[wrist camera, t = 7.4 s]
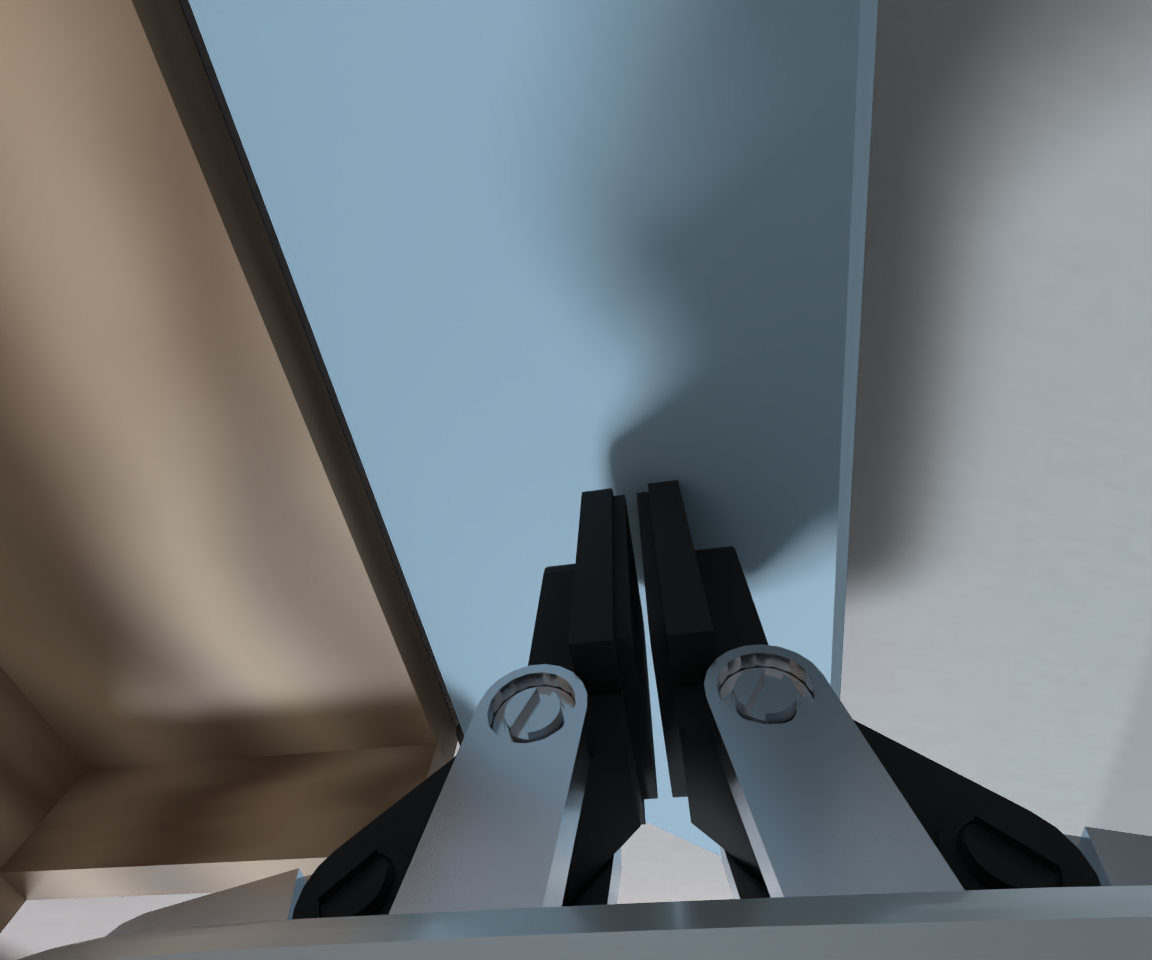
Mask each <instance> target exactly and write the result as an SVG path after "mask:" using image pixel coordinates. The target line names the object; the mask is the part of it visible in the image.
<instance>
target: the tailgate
mask: <svg viewBox="0 0 1152 960" xmlns="http://www.w3.org/2000/svg"><path fill="white" fill-rule="evenodd" d="M188 1H189V3H190V6H191V9H192V11H193V14H194V17H195V19H196V22H197V25H198V27H199V30H200V33H201V35H202V38H203V41H204V43H205V46H206V49H207V51H208V54H209V57H210V59H211V62H212V65H213V67H214V70H215V73H216V75H217V78H218V81H219V83H220V86H221V89H222V91H223V94H224V97H225V99H226V102H227V105H228V107H229V110H230V113H231V115H232V118H233V121H234V123H235V126H236V129H237V131H238V134H239V137H240V139H241V142H242V145H243V147H244V150H245V153H246V155H247V158H248V161H249V163H250V166H251V169H252V171H253V174H254V177H255V179H256V182H257V185H258V187H259V190H260V193H261V195H262V198H263V201H264V203H265V206H266V209H267V211H268V214H269V217H270V219H271V222H272V225H273V227H274V230H275V233H276V235H277V238H278V241H279V243H280V246H281V249H282V251H283V254H284V257H285V259H286V262H287V265H288V267H289V270H290V273H291V275H292V278H293V281H294V283H295V286H296V289H297V291H298V294H299V297H300V299H301V302H302V305H303V307H304V310H305V313H306V315H307V318H308V321H309V323H310V326H311V329H312V331H313V334H314V337H315V339H316V342H317V345H318V347H319V350H320V353H321V355H322V358H323V361H324V363H325V366H326V369H327V371H328V374H329V376H330V379H331V382H332V384H333V387H334V390H335V392H336V395H337V398H338V400H339V403H340V406H341V408H342V411H343V414H344V416H345V419H346V422H347V424H348V427H349V430H350V432H351V435H352V438H353V440H354V443H355V446H356V448H357V451H358V454H359V456H360V459H361V462H362V464H363V467H364V470H365V472H366V475H367V478H368V480H369V483H370V486H371V488H372V491H373V494H374V496H375V499H376V502H377V504H378V507H379V510H380V512H381V515H382V518H383V520H384V523H385V526H386V528H387V531H388V534H389V536H390V539H391V542H392V544H393V547H394V550H395V552H396V555H397V558H398V560H399V563H400V566H401V568H402V571H403V574H404V576H405V579H406V582H407V584H408V587H409V590H410V592H411V595H412V598H413V600H414V603H415V606H416V608H417V611H418V614H419V616H420V619H421V622H422V624H423V627H424V630H425V632H426V635H427V638H428V640H429V643H430V646H431V648H432V651H433V654H434V656H435V659H436V662H437V664H438V667H439V670H440V672H441V675H442V678H443V680H444V683H445V686H446V688H447V691H448V694H449V696H450V699H451V702H452V704H453V707H454V710H455V712H456V715H457V718H458V720H459V723H460V726H461V728H462V731H463V734H464V736H465V734H466V732H467V729H468V727H469V725H470V722H471V720H472V718H473V715H474V713H475V711H476V708H477V706H478V704H479V702H480V700H481V699H482V697H483V696H484V694H485V692H486V691H487V690H488V689H489V688H490V687H491V686H492V685H493V684H494V683H495V682H496V681H497V680H498V679H500V678H502V677H503V676H505V675H507V674H508V673H510V672H512V671H514V670H517V669H520V668H523V667H526V666H528V662H529V656H530V650H531V644H532V638H533V632H534V627H535V621H536V615H537V609H538V603H539V597H540V591H541V585H542V579H543V573H544V570H545V568H546V567H549V566H558V565H567V564H575V563H576V552H577V541H578V529H579V518H580V507H581V496H582V492H585V491H593V490H601V489H609V488H612V490H613V494H614V496H617V495H625V498H626V504H627V511H628V518H629V525H630V531H631V538H632V545H633V552H634V559H635V565H636V572H637V579H638V586H639V593H640V599H641V606H642V613H643V621H644V630H645V641H646V654H647V666H648V678H649V691H650V703H651V716H652V728H653V741H654V753H655V766H656V778H657V791H658V799H644V804H645V821H646V822H648V823H650V824H652V825H654V826H656V827H659V828H661V829H663V830H665V831H667V832H670V833H672V834H674V835H676V836H678V837H680V838H683V839H685V840H687V841H689V842H691V843H693V844H696V845H698V846H700V847H702V848H704V849H706V850H709V851H711V852H713V853H715V854H717V855H719V856H721V851H720V845H718V844H717V843H716V842H715V841H713V840H712V839H711V838H709V837H708V836H707V835H706V834H704V833H703V832H702V831H701V830H699V829H698V828H697V827H696V826H694V825H693V824H692V823H691V818H690V811H689V803H688V797H674V798H673V797H672V790H671V783H670V776H669V770H668V763H667V756H666V749H665V742H664V735H663V728H662V721H661V714H660V707H659V700H658V693H657V686H656V679H655V672H654V665H653V658H652V651H651V643H650V635H649V626H648V615H647V604H646V593H645V582H644V571H643V560H642V549H641V538H640V526H639V515H638V504H637V493H641V492H649V491H648V484H649V483H657V482H665V481H673V480H678V482H679V486H680V491H681V495H682V499H683V503H684V508H685V512H686V516H687V520H688V525H689V529H690V533H691V537H692V542H693V546H694V550H702V549H711V548H720V547H729V546H733V547H734V548H735V550H736V553H737V556H738V558H739V561H740V564H741V567H742V570H743V573H744V576H745V578H746V581H747V584H748V587H749V590H750V593H751V596H752V599H753V601H754V604H755V607H756V610H757V613H758V616H759V619H760V621H761V624H762V627H763V630H764V633H765V636H766V639H767V642H768V644H769V645H770V646H778V647H782V648H785V649H788V650H791V651H793V652H796V653H798V654H800V655H801V656H803V657H805V658H806V659H808V660H809V661H811V662H812V663H813V664H814V665H815V666H816V667H817V668H818V669H819V670H820V672H821V673H822V674H823V675H824V677H825V678H826V680H827V681H828V683H829V684H830V686H831V687H832V689H833V690H834V692H835V693H836V695H837V696H838V698H839V699H840V691H841V672H842V654H843V636H844V618H845V599H846V581H847V563H848V544H849V526H850V508H851V490H852V471H853V453H854V435H855V417H856V398H857V380H858V362H859V343H860V325H861V307H862V289H863V270H864V252H865V234H866V215H867V197H868V179H869V161H870V142H871V124H872V106H873V87H874V69H875V51H876V33H877V14H878V0H188Z"/></svg>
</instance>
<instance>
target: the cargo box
mask: <svg viewBox="0 0 1152 960" xmlns="http://www.w3.org/2000/svg"><path fill="white" fill-rule="evenodd" d="M463 739H464V734H463V731H462V728H461V726H460V723H459V724H458V726H457V729H456V727H455V724H454V721H453V719H452V716H451V714H450V711H449V708H448V706H447V703H446V700H445V698H444V695H443V693H442V690H441V687H440V685H439V682H438V679H437V677H436V674H435V672H434V669H433V666H432V664H431V661H430V658H429V656H428V653H427V651H426V648H425V645H424V643H423V640H422V637H421V635H420V632H419V630H418V627H417V624H416V622H415V619H414V617H413V614H412V611H411V609H410V606H409V603H408V601H407V598H406V596H405V593H404V590H403V588H402V585H401V582H400V580H399V577H398V575H397V572H396V569H395V567H394V564H393V561H392V559H391V556H390V554H389V551H388V548H387V546H386V543H385V540H384V538H383V535H382V533H381V530H380V527H379V525H378V522H377V519H376V517H375V514H374V512H373V509H372V506H371V504H370V501H369V498H368V496H367V493H366V491H365V488H364V485H363V483H362V480H361V477H360V475H359V472H358V470H357V467H356V464H355V462H354V459H353V457H352V454H351V451H350V449H349V446H348V443H347V441H346V438H345V436H344V433H343V430H342V428H341V425H340V422H339V420H338V417H337V415H336V412H335V409H334V407H333V404H332V401H331V399H330V396H329V394H328V391H327V388H326V386H325V383H324V380H323V378H322V375H321V373H320V370H319V367H318V365H317V362H316V359H315V357H314V354H313V352H312V349H311V346H310V344H309V341H308V338H307V336H306V333H305V331H304V328H303V325H302V323H301V320H300V318H299V315H298V312H297V310H296V307H295V304H294V302H293V299H292V297H291V294H290V291H289V289H288V286H287V283H286V281H285V278H284V276H283V273H282V270H281V268H280V265H279V262H278V260H277V257H276V255H275V252H274V249H273V247H272V244H271V241H270V239H269V236H268V234H267V231H266V228H265V226H264V223H263V220H262V218H261V215H260V213H259V210H258V207H257V205H256V202H255V199H254V197H253V194H252V192H251V189H250V186H249V184H248V181H247V179H246V176H245V173H244V171H243V168H242V165H241V163H240V160H239V158H238V155H237V152H236V150H235V147H234V144H233V142H232V139H231V137H230V134H229V131H228V129H227V126H226V123H225V121H224V118H223V116H222V113H221V110H220V108H219V105H218V102H217V100H216V97H215V95H214V92H213V89H212V87H211V84H210V81H209V79H208V76H207V74H206V71H205V68H204V66H203V63H202V60H201V58H200V55H199V53H198V50H197V47H196V45H195V42H194V40H193V37H192V34H191V32H190V29H189V26H188V24H187V21H186V19H185V16H184V13H183V11H182V8H181V5H180V3H179V0H0V933H1V931H2V930H3V929H4V928H5V926H6V925H7V924H8V923H9V921H10V920H11V919H12V917H13V916H14V915H15V914H16V912H17V911H18V910H19V909H20V907H21V906H22V905H23V904H24V902H25V901H26V900H40V899H65V898H90V897H115V896H140V895H165V894H190V893H215V892H219V891H223V890H226V889H230V888H233V887H236V886H240V885H243V884H247V883H250V882H253V881H257V880H260V879H264V878H267V877H270V876H274V875H277V874H281V873H284V872H287V871H291V870H294V869H297V868H299V869H300V871H301V872H302V874H303V876H308V875H311V874H313V873H314V871H315V870H316V869H317V867H318V866H319V865H320V864H321V863H322V862H323V861H324V860H325V859H326V858H327V857H329V856H330V855H331V854H332V853H333V852H334V851H335V850H336V849H337V848H339V847H340V846H341V845H342V844H344V843H345V842H346V841H347V840H349V839H350V838H351V837H353V836H354V835H355V834H356V833H358V832H359V831H360V830H362V829H363V828H364V827H365V826H367V825H368V824H369V823H371V822H372V821H373V820H374V819H376V818H377V817H378V816H380V815H381V814H382V813H383V812H385V811H386V810H387V809H388V808H390V807H391V806H392V805H394V804H395V803H396V802H397V801H399V800H400V799H401V798H403V797H404V796H405V795H406V794H408V793H409V792H410V791H412V790H413V789H414V788H415V787H417V786H418V785H419V784H420V783H422V782H423V781H424V780H426V779H427V778H428V777H429V776H431V775H432V774H433V773H435V772H436V771H437V770H438V769H440V768H441V767H442V766H444V765H445V764H446V763H447V762H449V761H450V760H451V759H452V758H453V757H454V753H455V749H456V745H457V742H459V744H460V746H461V744H462V741H463Z"/></svg>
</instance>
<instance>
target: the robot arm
mask: <svg viewBox="0 0 1152 960" xmlns="http://www.w3.org/2000/svg"><path fill="white" fill-rule="evenodd" d="M648 491H649V492H641V493H637V504H638V515H639V526H640V538H641V549H642V560H643V571H644V582H645V593H646V604H647V615H648V626H649V635H650V643H651V651H652V658H653V665H654V672H655V679H656V686H657V693H658V700H659V707H660V714H661V721H662V728H663V735H664V742H665V749H666V756H667V763H668V770H669V776H670V783H671V790H672V797H673V798H674V797H688V803H689V811H690V818H691V823H692V824H693V825H694V826H696V827H697V828H698V829H699V830H701V831H702V832H703V833H704V834H706V835H707V836H708V837H709V838H711V839H712V840H713V841H715V842H716V843H717V844H718V845H720V851H721V858H722V863H723V866H724V869H725V872H726V876H727V879H728V882H729V885H730V888H731V891H732V895H733V898H734V899H729V900H704V901H680V902H656V903H633V904H617V899H618V891H619V883H620V874H621V849H620V847H621V846H622V845H623V844H624V843H625V842H626V841H627V840H628V839H629V838H630V837H631V836H632V835H633V833H634V832H635V831H636V830H637V829H638V828H639V827H640V826H641V824H646V821H645V804H644V799H658V791H657V778H656V766H655V753H654V741H653V728H652V716H651V703H650V691H649V678H648V666H647V654H646V641H645V630H644V621H643V613H642V606H641V599H640V593H639V586H638V579H637V572H636V565H635V559H634V552H633V545H632V538H631V531H630V525H629V518H628V511H627V504H626V498H625V495H617V496H614V494H613V490H612V488H609V489H601V490H593V491H585V492H582V496H581V507H580V518H579V529H578V541H577V552H576V563H575V564H567V565H558V566H549V567H546V568H545V570H544V573H543V579H542V585H541V591H540V597H539V603H538V609H537V615H536V621H535V627H534V632H533V638H532V644H531V650H530V656H529V662H528V666H526V667H523V668H520V669H517V670H514V671H512V672H510V673H508V674H507V675H505V676H503V677H502V678H500V679H498V680H497V681H496V682H495V683H494V684H493V685H492V686H491V687H490V688H489V689H488V690H487V691H486V692H485V694H484V696H483V697H482V699H481V700H480V702H479V704H478V706H477V708H476V711H475V713H474V715H473V718H472V720H471V722H470V725H469V727H468V729H467V732H466V734H465V736H464V739H463V741H462V744H461V746H460V748H459V751H458V753H457V755H456V756H455V757H454V758H452V759H451V760H450V761H449V762H447V763H446V764H445V765H444V766H442V767H441V768H440V769H438V770H437V771H436V772H435V773H433V774H432V775H431V776H429V777H428V778H427V779H426V780H424V781H423V782H422V783H420V784H419V785H418V786H417V787H415V788H414V789H413V790H412V791H410V792H409V793H408V794H406V795H405V796H404V797H403V798H401V799H400V800H399V801H397V802H396V803H395V804H394V805H392V806H391V807H390V808H388V809H387V810H386V811H385V812H383V813H382V814H381V815H380V816H378V817H377V818H376V819H374V820H373V821H372V822H371V823H369V824H368V825H367V826H365V827H364V828H363V829H362V830H360V831H359V832H358V833H356V834H355V835H354V836H353V837H351V838H350V839H349V840H347V841H346V842H345V843H344V844H342V845H341V846H340V847H339V848H337V849H336V850H335V851H334V852H333V853H332V854H331V855H330V856H329V857H327V858H326V859H325V860H324V861H323V862H322V863H321V864H320V865H319V866H318V867H317V869H316V870H315V871H314V873H313V874H311V875H308V876H303V874H302V872H301V871H300V869H299V868H297V869H294V870H291V871H287V872H284V873H281V874H277V875H274V876H270V877H267V878H264V879H260V880H257V881H253V882H250V883H247V884H243V885H240V886H236V887H233V888H230V889H226V890H223V891H219V892H216V893H213V894H209V895H206V896H202V897H199V898H196V899H192V900H189V901H185V902H182V903H179V904H175V905H172V906H168V907H165V908H162V909H158V910H155V911H151V912H148V913H145V914H143V915H140V916H138V917H136V918H134V919H132V920H129V921H127V922H125V923H123V924H121V925H120V926H119V927H117V928H116V929H115V930H113V931H112V932H111V933H109V934H108V935H107V936H105V937H102V938H98V939H93V940H89V941H84V942H79V943H75V944H70V945H66V946H61V947H57V948H53V949H49V950H46V951H43V952H40V953H37V954H34V955H30V956H27V957H24V958H21V959H18V960H1152V836H1145V835H1138V834H1132V833H1125V832H1118V831H1110V830H1104V829H1098V828H1091V827H1084V830H1083V834H1082V837H1078V836H1072V835H1065V834H1062V833H1061V832H1060V831H1059V830H1058V829H1057V828H1056V827H1054V826H1053V825H1051V824H1050V823H1048V822H1047V821H1045V820H1043V819H1042V818H1040V817H1039V816H1037V815H1035V814H1034V813H1032V812H1031V811H1029V810H1027V809H1025V808H1023V807H1021V806H1019V805H1017V804H1015V803H1014V802H1012V801H1010V800H1008V799H1006V798H1004V797H1002V796H1000V795H998V794H996V793H994V792H992V791H990V790H988V789H986V788H984V787H983V786H981V785H979V784H977V783H975V782H973V781H971V780H969V779H967V778H965V777H963V776H961V775H959V774H957V773H955V772H953V771H952V770H950V769H948V768H946V767H944V766H942V765H940V764H938V763H936V762H934V761H932V760H930V759H928V758H926V757H924V756H922V755H921V754H919V753H917V752H915V751H913V750H911V749H909V748H907V747H905V746H903V745H901V744H899V743H897V742H895V741H893V740H891V739H890V738H888V737H886V736H884V735H882V734H880V733H878V732H876V731H874V730H872V729H870V728H868V727H866V726H864V725H862V724H860V723H859V722H857V721H855V720H853V719H852V718H851V716H850V715H849V713H848V712H847V710H846V709H845V707H844V705H843V704H842V702H841V701H840V699H839V698H838V696H837V695H836V693H835V692H834V690H833V689H832V687H831V686H830V684H829V683H828V681H827V680H826V678H825V677H824V675H823V674H822V673H821V672H820V670H819V669H818V668H817V667H816V666H815V665H814V664H813V663H812V662H811V661H809V660H808V659H806V658H805V657H803V656H801V655H800V654H798V653H796V652H793V651H791V650H788V649H785V648H782V647H778V646H770V645H769V644H768V642H767V639H766V636H765V633H764V630H763V627H762V624H761V621H760V619H759V616H758V613H757V610H756V607H755V604H754V601H753V599H752V596H751V593H750V590H749V587H748V584H747V581H746V578H745V576H744V573H743V570H742V567H741V564H740V561H739V558H738V556H737V553H736V550H735V548H734V547H733V546H729V547H720V548H711V549H702V550H694V546H693V542H692V537H691V533H690V529H689V525H688V520H687V516H686V512H685V508H684V503H683V499H682V495H681V491H680V486H679V482H678V480H673V481H665V482H657V483H649V484H648Z"/></svg>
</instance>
